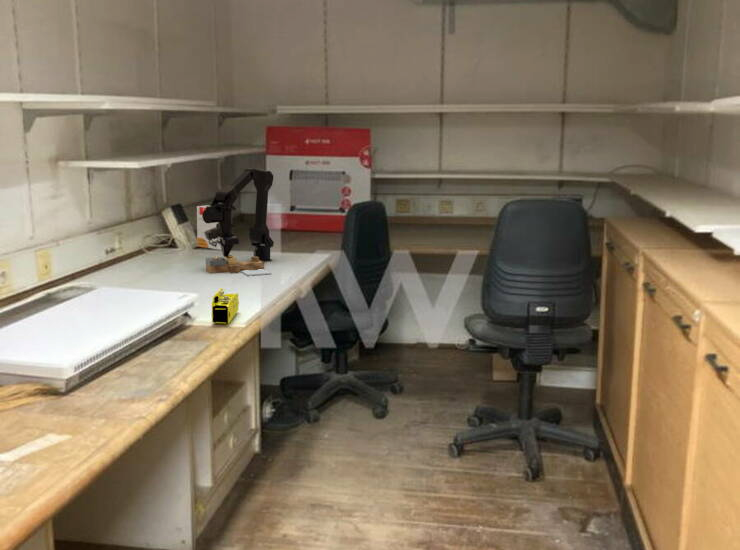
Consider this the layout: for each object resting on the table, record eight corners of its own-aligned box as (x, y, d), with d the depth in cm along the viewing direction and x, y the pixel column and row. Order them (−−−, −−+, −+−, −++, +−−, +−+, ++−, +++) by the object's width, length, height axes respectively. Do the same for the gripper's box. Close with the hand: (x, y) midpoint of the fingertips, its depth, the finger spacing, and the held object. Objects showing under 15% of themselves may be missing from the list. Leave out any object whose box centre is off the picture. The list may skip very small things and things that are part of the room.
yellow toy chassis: (221, 312, 222) (221, 286, 220) (239, 312, 222) (239, 287, 220) (210, 325, 206) (209, 298, 204) (229, 326, 206) (229, 298, 204)
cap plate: (221, 262, 288) (221, 255, 287) (226, 265, 282) (226, 258, 282) (205, 263, 284) (205, 256, 284) (210, 266, 279) (210, 259, 278)
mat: (264, 270, 288) (264, 269, 288) (271, 274, 281) (271, 273, 281) (241, 272, 283) (241, 271, 283) (247, 276, 277) (247, 274, 276)
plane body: (256, 265, 299) (256, 254, 298) (267, 270, 288) (267, 259, 287) (203, 269, 287) (203, 257, 286) (212, 274, 277) (212, 262, 276)
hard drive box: (196, 246, 342) (195, 206, 338) (206, 245, 348) (206, 205, 344) (221, 250, 335) (221, 208, 331) (231, 248, 341) (231, 207, 337)
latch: (233, 261, 289) (232, 254, 289) (236, 263, 285) (236, 256, 284) (224, 262, 288) (224, 254, 287) (228, 264, 283) (228, 256, 283)
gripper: (199, 219, 293) (200, 255, 296) (212, 224, 277) (213, 263, 280) (225, 218, 298) (225, 254, 301) (239, 223, 282) (239, 261, 285)
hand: (225, 258), depth 292 cm, fingers closed
